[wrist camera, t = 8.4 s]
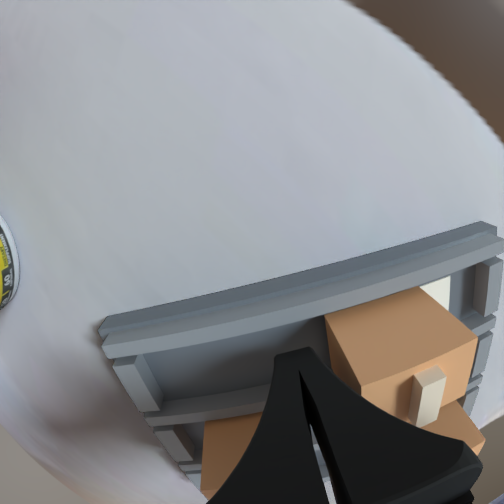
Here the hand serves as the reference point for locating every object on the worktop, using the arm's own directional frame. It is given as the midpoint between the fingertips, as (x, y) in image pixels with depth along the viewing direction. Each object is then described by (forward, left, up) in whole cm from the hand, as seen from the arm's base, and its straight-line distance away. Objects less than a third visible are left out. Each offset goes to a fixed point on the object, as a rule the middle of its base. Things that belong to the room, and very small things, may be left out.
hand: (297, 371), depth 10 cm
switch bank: (-4, -2, -3) cm, 5 cm away
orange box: (0, -3, -1) cm, 4 cm away
